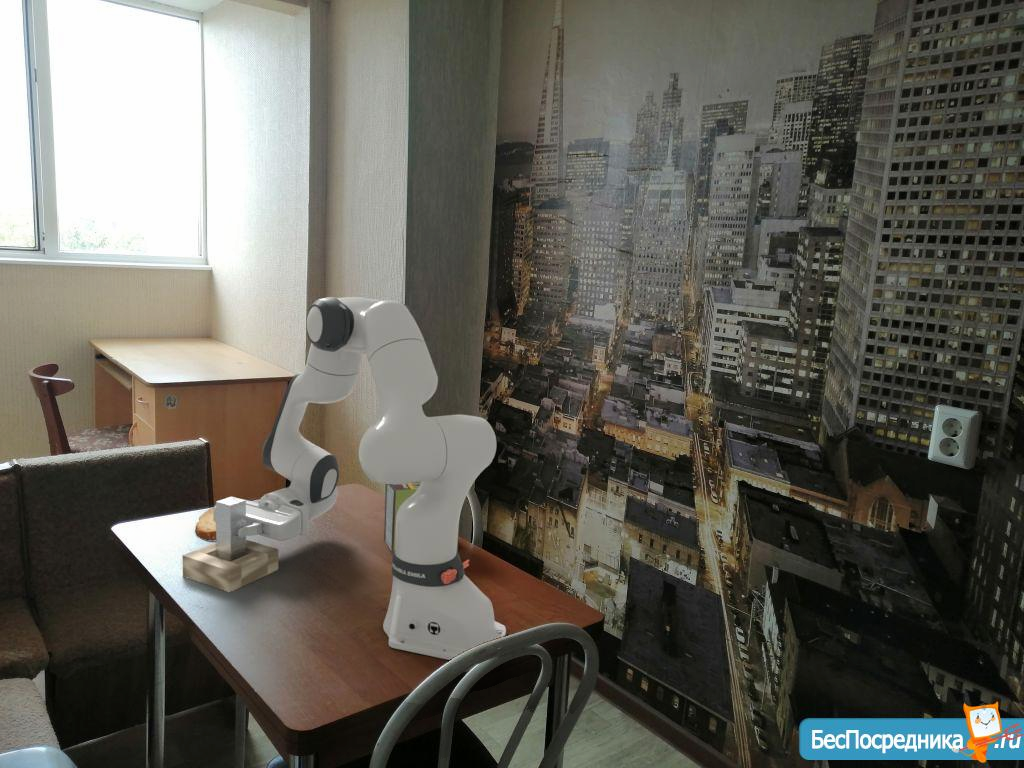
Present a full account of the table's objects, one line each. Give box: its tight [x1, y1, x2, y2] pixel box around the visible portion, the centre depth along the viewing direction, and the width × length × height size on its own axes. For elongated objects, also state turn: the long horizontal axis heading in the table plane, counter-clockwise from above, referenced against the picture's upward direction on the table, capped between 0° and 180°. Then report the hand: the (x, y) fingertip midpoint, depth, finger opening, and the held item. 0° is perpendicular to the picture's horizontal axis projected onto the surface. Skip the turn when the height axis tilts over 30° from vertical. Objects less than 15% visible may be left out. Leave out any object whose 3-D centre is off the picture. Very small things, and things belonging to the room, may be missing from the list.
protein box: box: [383, 481, 460, 555], centre depth 173 cm, size 10×15×16 cm
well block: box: [182, 539, 279, 593], centre depth 154 cm, size 13×13×4 cm
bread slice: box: [194, 506, 216, 541], centre depth 180 cm, size 18×18×4 cm
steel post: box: [215, 496, 247, 562], centre depth 152 cm, size 4×4×14 cm
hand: (227, 530), depth 152 cm, fingers closed on steel post, 4 cm apart
